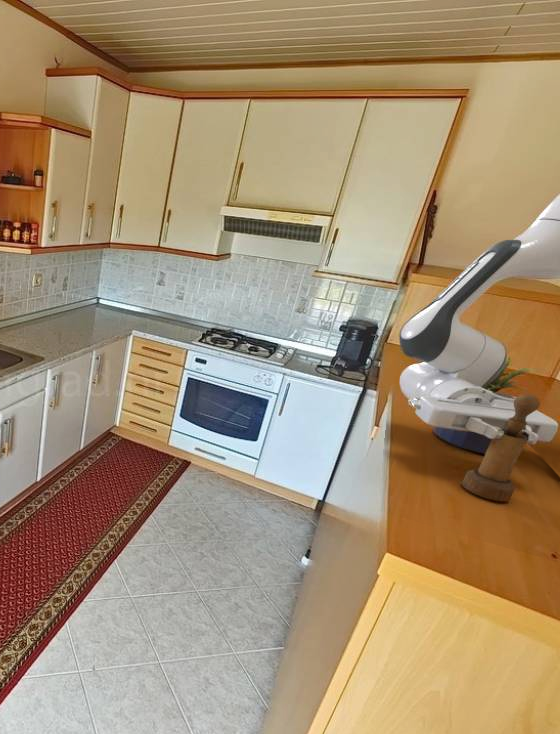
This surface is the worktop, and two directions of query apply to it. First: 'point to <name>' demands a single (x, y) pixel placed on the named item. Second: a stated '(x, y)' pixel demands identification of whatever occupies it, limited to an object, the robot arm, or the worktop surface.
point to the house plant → (495, 385)
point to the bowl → (464, 439)
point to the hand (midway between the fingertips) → (515, 437)
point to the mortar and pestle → (502, 455)
